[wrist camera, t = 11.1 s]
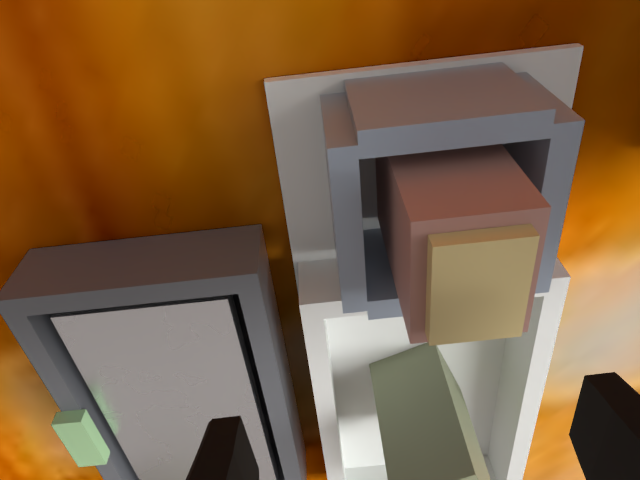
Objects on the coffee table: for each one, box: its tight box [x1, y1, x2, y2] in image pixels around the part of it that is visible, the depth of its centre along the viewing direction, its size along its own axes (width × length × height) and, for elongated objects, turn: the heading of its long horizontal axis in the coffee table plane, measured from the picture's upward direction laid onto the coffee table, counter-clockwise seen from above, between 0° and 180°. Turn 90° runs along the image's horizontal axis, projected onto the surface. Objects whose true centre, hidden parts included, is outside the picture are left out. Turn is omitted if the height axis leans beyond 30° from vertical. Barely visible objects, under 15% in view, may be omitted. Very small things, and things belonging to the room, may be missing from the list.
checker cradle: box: [0, 224, 307, 480], centre depth 23 cm, size 9×15×4 cm, turn 6°
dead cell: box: [375, 144, 551, 346], centre depth 15 cm, size 3×4×7 cm
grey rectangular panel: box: [50, 295, 278, 480], centre depth 22 cm, size 6×12×1 cm, turn 6°
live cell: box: [369, 342, 491, 480], centre depth 22 cm, size 3×4×7 cm
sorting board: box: [264, 43, 585, 480], centre depth 21 cm, size 10×23×4 cm, turn 6°
